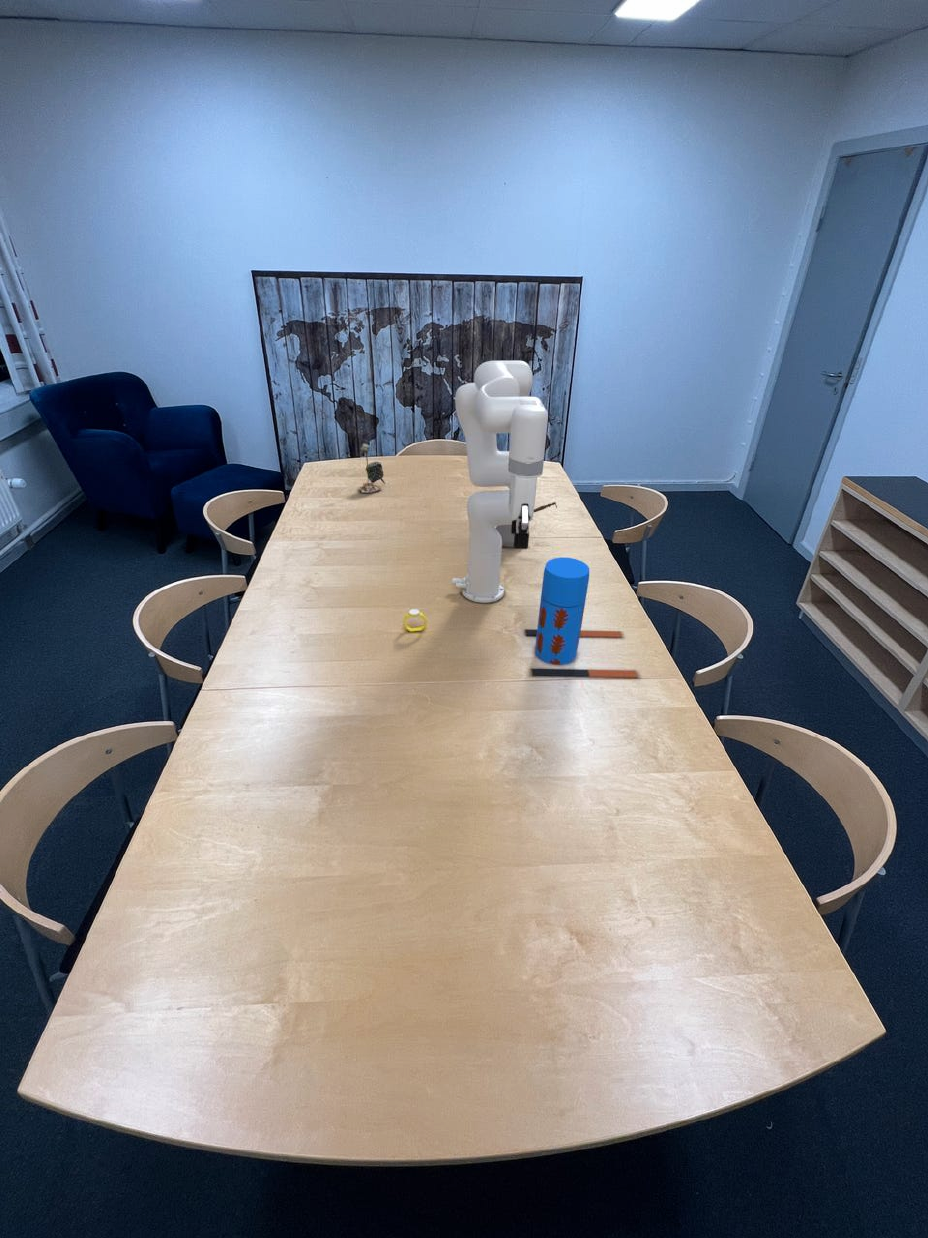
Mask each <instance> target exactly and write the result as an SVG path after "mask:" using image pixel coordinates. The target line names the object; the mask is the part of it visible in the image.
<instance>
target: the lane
mask: <svg viewBox="0 0 928 1238" xmlns="http://www.w3.org/2000/svg"><path fill="white" fill-rule="evenodd" d="M525 636H526V637H536V636H537V629H526V628H525ZM580 638H610V639H611V638H615V639H617V638H618V639H622V638H623V634H622V632H621V631H615V630H614V631H613V630H581V631H580ZM531 675H532V677H565V678H567V677H568V678H611V679H612V678H614V679H615V678H616V679H638V678H639V676H638V673H637V671H636V670H621V669H619V670H618V669H617V670H616V669H571V668H570V669H569V668H568V669H566V668H563V669H562V668H531Z"/></svg>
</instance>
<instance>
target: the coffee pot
mask: <svg viewBox="0 0 928 1238" xmlns="http://www.w3.org/2000/svg"><path fill="white" fill-rule="evenodd" d="M551 506H555V507H556V509H557V508H558V506H557V502H556V501H553V502H551V503H547V504H544V505H541V506H539V507H537V508H534V513H537V512H540V511H543V510H545V509H547V508H550V507H551ZM511 527H512V525H500V526H495V527H494V528H495V529H496V530H497V531H498V532H499V534H500V535H501V538H502V548H507V549H511V548H513V549H514V535H515V534H512V533H511Z"/></svg>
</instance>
